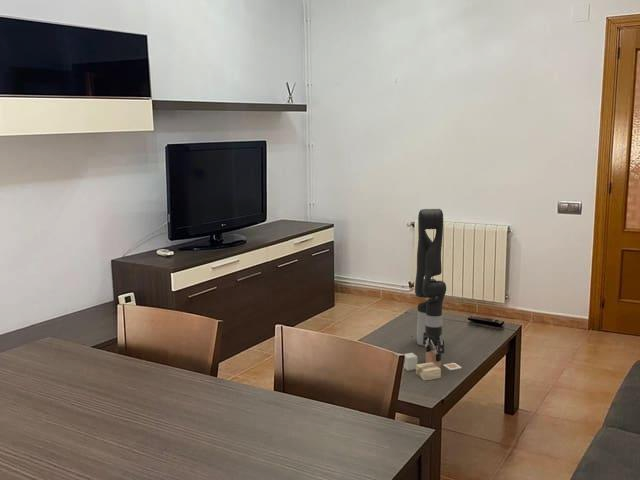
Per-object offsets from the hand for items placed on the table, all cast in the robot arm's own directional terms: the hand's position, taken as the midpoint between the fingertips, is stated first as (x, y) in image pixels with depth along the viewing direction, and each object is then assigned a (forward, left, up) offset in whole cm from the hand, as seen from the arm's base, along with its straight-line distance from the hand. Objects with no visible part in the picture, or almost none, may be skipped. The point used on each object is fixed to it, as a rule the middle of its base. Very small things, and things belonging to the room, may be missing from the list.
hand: (433, 358), depth 283 cm
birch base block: (+9, -8, -4) cm, 12 cm away
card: (+5, +7, -4) cm, 9 cm away
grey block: (-2, -11, -4) cm, 12 cm away
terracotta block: (0, 0, -4) cm, 4 cm away
